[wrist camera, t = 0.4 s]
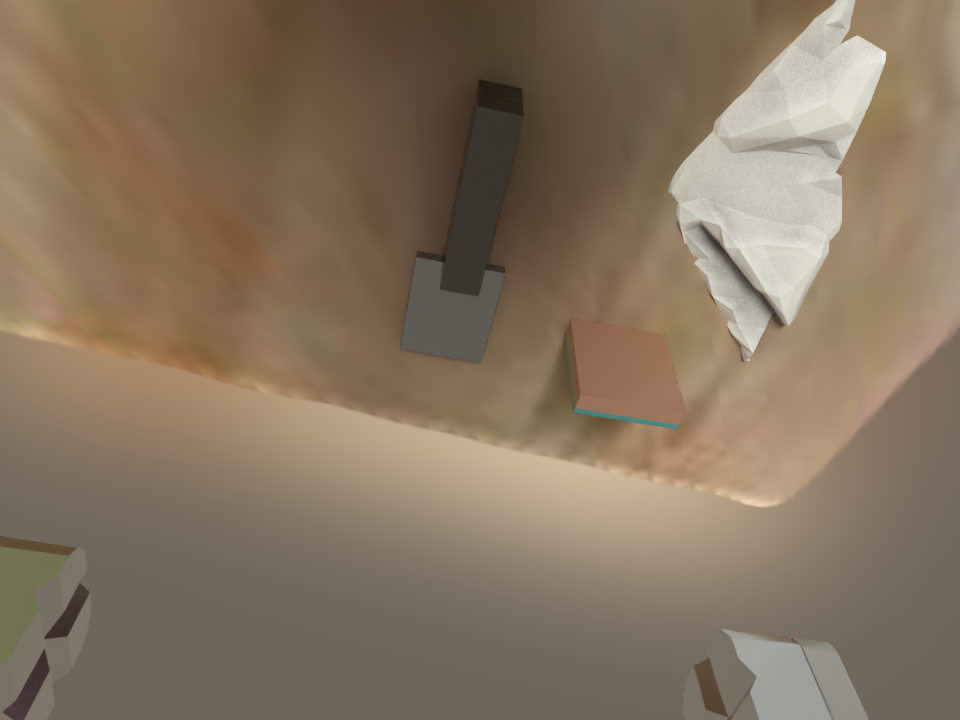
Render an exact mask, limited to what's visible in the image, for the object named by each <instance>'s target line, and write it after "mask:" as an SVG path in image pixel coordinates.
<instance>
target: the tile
mask: <svg viewBox="0 0 960 720" xmlns="http://www.w3.org/2000/svg"><path fill="white" fill-rule="evenodd" d="M565 343H566V352H567V361H568V369H569V378H570V387H571V396H572V405H573V413H579V414H585V415H591V416H597V417H603V418H610V419H616V420H622V421H628V422H634V423H641V424H647V425H653V426H659V427H666V428H672V429H677V428H678V426H679V424H680V422H681V420H682V419H683V417H684V415H685V413H686V410H685V407H684V403H683V400H682V396H681V392H680V389H679V385H678V381H677V378H676V374H675V371H674V367H673V363H672V360H671V356H670V353H669V349H668V345H667V342H666V338H665V335H662V334H656V333H651V332H645V331H639V330H634V329H628V328H622V327H617V326H611V325H605V324H600V323H594V322H588V321H583V320H577V319H570V322H569V325H568V328H567V331H566V333H565Z"/></svg>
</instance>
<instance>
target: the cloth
mask: <svg viewBox="0 0 960 720" xmlns="http://www.w3.org/2000/svg"><path fill="white" fill-rule="evenodd" d="M854 4H855V0H835V1H834V3H833V4H832V5H831V6H830V7H829V8H828V9H827V10H825V11H824V12H823V13H822V14H820V15H819V16H818V17H816V18H815V19H814V21H813V22H812V23H811V24H810V25H809V26H808V27H807V28H806V30H805V31H804V32H803V33H802V34H801V35H800V36H799V37H798V38H797V39H795V40H794V41H793V42H792V43H791V44H790V45H789V46H788V47H787V48H786V49H785V50H784V51H783V52H782V53H781V54H780V55H779V56H778V57H777V58H776V59H775V60H774V61H773V62H772V63H771V64H770V65H769V66H768V67H767V68H766V69H765V70H764V71H763V72H762V73H761V74H760V75H759V76H758V77H757V78H756V79H755V81H754V82H753V83H752V84H751V86H750V87H749V88H748V89H747V90H746V91H745V92H744V93H743V94H742V95H741V96H739V97H738V98H737V99H736V100H735V101H734V102H733V103H732V104H731V105H730V106H729V107H728V108H727V109H726V110H725V111H724V112H723V114H722V115H721V116H720V117H719V118H718V119H717V120H716V121H715V124H714V128H713V132H712V133H711V134H710V135H709V136H708V137H707V138H706V139H705V140H704V141H703V142H702V143H701V144H700V145H699V146H698V147H697V148H696V149H695V150H694V151H693V152H692V153H691V154H690V155H689V157H688V158H687V159H686V160H685V161H684V162H683V163H682V165H681V166H680V167H679V169H678V170H677V172H676V173H675V175H674V177H673V179H672V181H671V184H670V187H669V189H668V193H669V194H670V195H671V196H672V197H673V198H674V199H675V200H676V202H677V203H678V207H677V213H676V217H677V220H678V223H679V227H680V230H681V233H682V236H683V239H684V243H687V245H688V247H689V249H690V251H691V253H692V255H693V256H695V257H697V258H698V260H697V261H696V262H695V265H696V267H697V269H698V271H699V272H700V274H701V276H702V278H703V280H704V281H705V283H706V286H707V289H708V291H709V292H710V294H711V295H712V296H713V298H714V301H715V303H716V305H717V307H718V308H719V310H720V311H721V312H722V313H723V314H724V315H725V317H726V318H727V319H728V320H729V321H728V324H727V326H728V328H729V330H730V332H731V333H732V335H733V336H734V338H735V339H736V340H737V341H738V342H739V343H740V344H741V353H742V357H743V361H748V362H750V360H749V358H750V357H751V355H752V354H753V352H754V351H755V348H756V346H757V344H758V342H759V340H760V338H761V336H762V334H763V332H764V330H765V328H766V326H767V324H768V322H769V320H770V318H771V316H772V314H773V312H775V314H776V315H777V317H778V318H779V319H780V321H781V322H782V323H783V324H785V325H787V326H789V325H790V324H791V322H792V321H793V320H794V318H795V317H796V315H797V312H798V310H799V308H800V306H801V304H802V301H803V299H804V297H805V295H806V293H807V291H808V289H809V287H810V286H811V284H812V282H813V280H814V278H815V276H816V275H817V273H818V271H819V269H820V267H821V266H822V264H823V262H824V260H825V258H826V256H827V255H828V253H829V241H830V240H831V239H832V238H833V237H834V235H835V234H836V233H837V232H838V231H839V228H840V226H841V223H842V177H841V176H840V175H839V174H837V173H836V171H837V169H838V167H839V166H840V164H841V162H842V160H843V158H844V156H845V154H846V152H847V150H848V148H849V146H850V144H851V142H852V140H853V138H854V136H855V134H856V132H857V130H858V128H859V126H860V124H861V121H862V119H863V117H864V115H865V113H866V111H867V108H868V106H869V104H870V102H871V99H872V96H873V94H874V91H875V88H876V86H877V83H878V80H879V77H880V75H881V72H882V69H883V67H884V64H885V61H886V52H884V51H883V50H881V49H880V48H878V47H876V46H875V45H873V44H871V43H869V42H868V41H866V40H864V39H862V38H861V37H859V36H855V37H853V38H851V39H849V40H848V41H846V42H844V43H842V44H840V43H841V42H842V40H843V39H844V37H845V35H846V34H847V32H848V31H849V29H850V22H851V17H852V13H853V8H854Z"/></svg>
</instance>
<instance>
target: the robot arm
mask: <svg viewBox="0 0 960 720" xmlns="http://www.w3.org/2000/svg"><path fill="white" fill-rule="evenodd" d="M86 569H87V563H86V557H85V551H84V549H79V548H74V547H67V546H61V545H54V544H48V543H41V542H35V541H28V540H22V539H15V538H9V537H2V536H0V720H47V719H48V717H49V715H50V713H51V711H52V708H53V707H54V705H55V701H54V695H53V688H52V683H53V682H55V681H56V680H57V679H59V678H60V677H62V676H63V675H65V674H66V673H67V672H69V671H70V670H72V668H73V666H74V664H75V662H76V659H77V657H78V655H79V653H80V651H81V649H82V646H83V643H84V640H85V636H86V633H87V630H88V626H89V622H90V613H91V598H90V592H89V591H88V590H87V589H86V588H85V587H84V586H83V585H82V584H81V583H80V581H81V579H82V577H83V575H84V573H85V571H86ZM706 647H707V651H708V655H709V658H707V659H706V660H704V661H702V662H700V663H698V664H696V665H694V667H693V668H692V670H691V672H690V674H689V676H688V678H687V680H686V684H685V691H684V698H683V708H684V719H685V720H868V717H867V715H866V713H865V711H864V709H863V707H862V704H861V702H860V700H859V698H858V696H857V694H856V692H855V690H854V687H853V685H852V683H851V681H850V679H849V677H848V675H847V673H846V670H845V668H844V666H843V664H842V662H841V660H840V658H839V656H838V653H837V652H836V650H835V649H834V648H833V647H832V646H831V645H830V644H829V643H826V642H818V641H810V640H803V639H795V638H788V637H786V636H777V635H768V634H758V633H750V632H741V631H732V630H723V629H721V630H719V631H717V632H715V633H713V635H712V636H711V638H710V640H709V641H708V643H707V645H706Z"/></svg>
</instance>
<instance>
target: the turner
mask: <svg viewBox="0 0 960 720" xmlns="http://www.w3.org/2000/svg"><path fill="white" fill-rule="evenodd" d="M523 116H524V114H523V99H522V89H521V88H516V87H512V86H507V85H502V84H498V83H493V82H488V81H483V80H479V82H478V87H477V92H476V97H475V102H474V107H473V112H472V116H471V121H470V126H469V131H468V136H467V141H466V146H465V151H464V156H463V161H462V166H461V171H460V175H459V180H458V185H457V190H456V195H455V200H454V205H453V210H452V215H451V220H450V225H449V229H448V234H447V239H446V244H445V249H444V254H443V256H441V255H435V254H430V253H424V252H419V251H417V255H416V261H415V266H414V272H413V278H412V283H411V289H410V295H409V300H408V306H407V312H406V317H405V323H404V329H403V334H402V340H401V346H400V349H401V350H407V351H413V352H419V353H424V354H430V355H436V356H442V357H448V358H454V359H460V360H466V361H472V362H478V363H481V362H482V358H483V354H484V350H485V347H486V343H487V339H488V336H489V332H490V328H491V324H492V321H493V317H494V313H495V310H496V306H497V302H498V299H499V295H500V291H501V287H502V284H503V280H504V276H505V267H501V266H495V265H490V264H487V261H488V257H489V253H490V249H491V245H492V241H493V237H494V233H495V229H496V225H497V221H498V217H499V213H500V209H501V205H502V201H503V197H504V193H505V189H506V185H507V181H508V177H509V173H510V169H511V165H512V161H513V157H514V153H515V149H516V145H517V141H518V137H519V133H520V128H521V124H522V120H523Z"/></svg>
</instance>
